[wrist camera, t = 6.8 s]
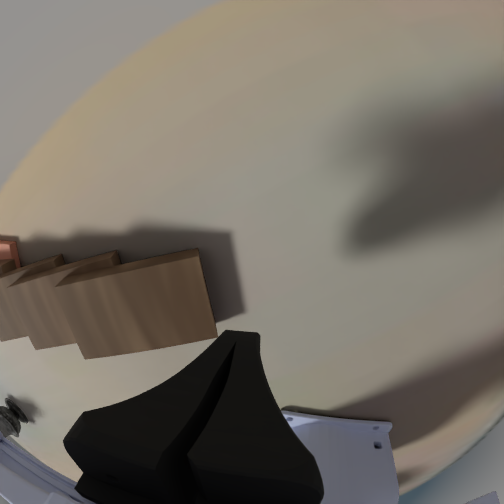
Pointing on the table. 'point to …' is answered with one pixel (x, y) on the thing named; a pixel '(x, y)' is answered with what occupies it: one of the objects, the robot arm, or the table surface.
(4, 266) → the tile
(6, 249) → the tile
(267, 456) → the robot arm
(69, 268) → the tile
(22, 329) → the tile
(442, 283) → the table surface
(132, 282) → the tile
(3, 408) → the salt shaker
